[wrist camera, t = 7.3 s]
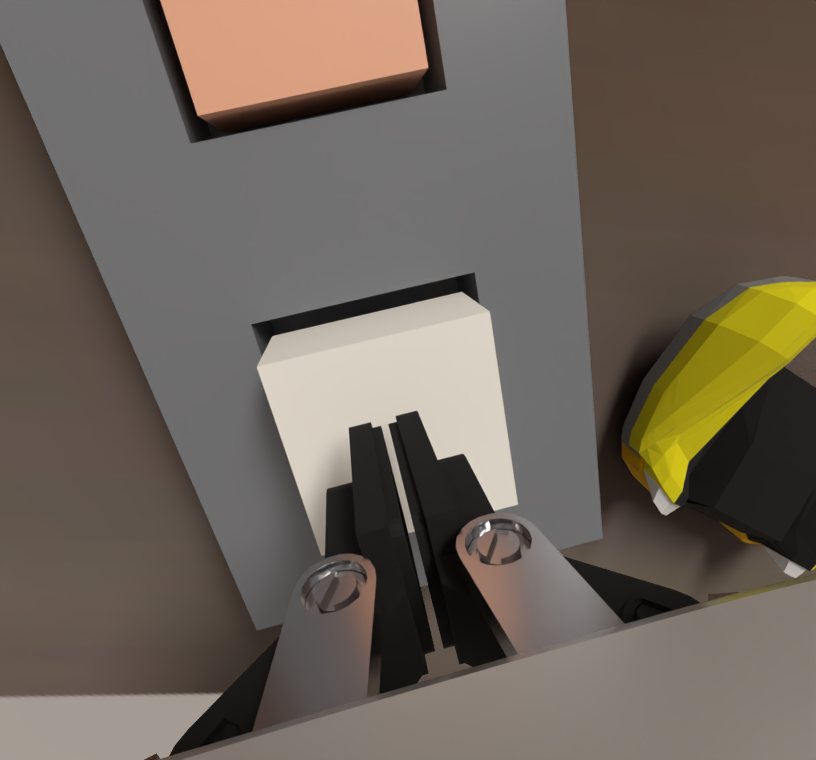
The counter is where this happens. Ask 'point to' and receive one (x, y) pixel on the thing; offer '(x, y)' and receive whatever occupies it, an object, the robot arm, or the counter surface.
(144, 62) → the key panel
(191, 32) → the terracotta key
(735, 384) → the gaming controller
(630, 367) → the counter surface
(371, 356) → the white key
